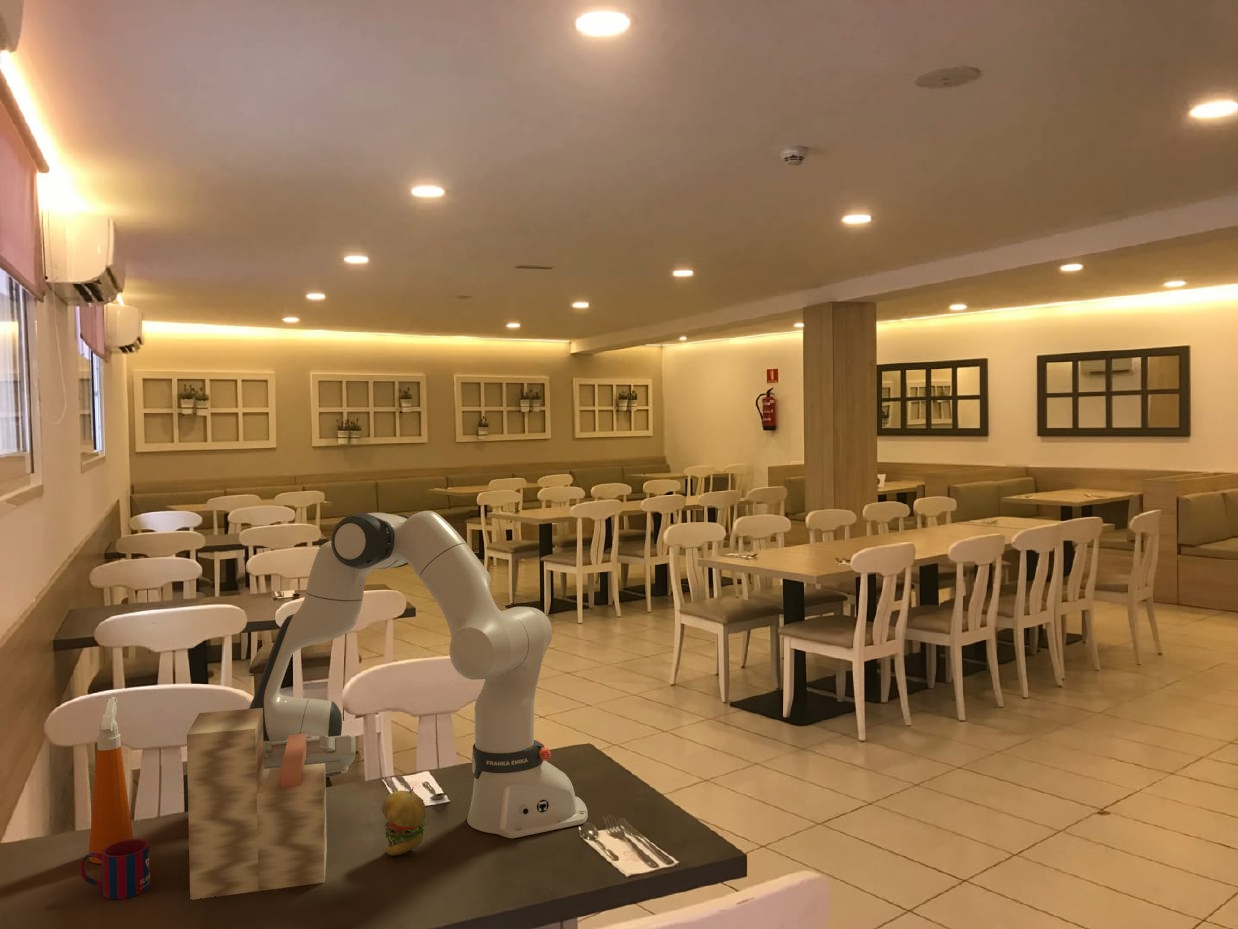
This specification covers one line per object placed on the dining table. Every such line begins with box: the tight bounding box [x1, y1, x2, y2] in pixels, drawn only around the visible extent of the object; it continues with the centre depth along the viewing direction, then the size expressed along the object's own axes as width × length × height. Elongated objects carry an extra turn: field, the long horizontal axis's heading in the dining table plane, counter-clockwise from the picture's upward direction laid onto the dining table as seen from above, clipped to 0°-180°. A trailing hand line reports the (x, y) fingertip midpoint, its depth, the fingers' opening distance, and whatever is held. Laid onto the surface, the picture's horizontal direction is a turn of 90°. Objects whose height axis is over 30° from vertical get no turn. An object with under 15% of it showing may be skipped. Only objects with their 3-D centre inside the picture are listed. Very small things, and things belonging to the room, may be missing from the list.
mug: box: [79, 838, 151, 900], centre depth 150 cm, size 7×10×7 cm
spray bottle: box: [88, 696, 134, 865], centre depth 164 cm, size 7×11×26 cm, turn 21°
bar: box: [280, 734, 307, 787], centre depth 161 cm, size 3×18×3 cm, turn 15°
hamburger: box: [381, 786, 427, 856], centre depth 162 cm, size 8×7×12 cm
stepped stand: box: [186, 708, 328, 900], centre depth 155 cm, size 20×12×26 cm, turn 106°
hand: (295, 743), depth 165 cm, fingers open, 8 cm apart
